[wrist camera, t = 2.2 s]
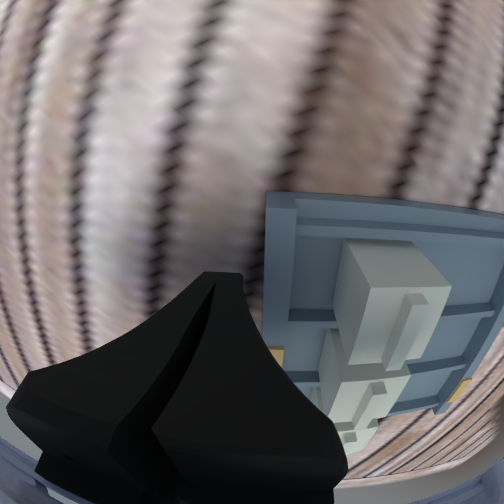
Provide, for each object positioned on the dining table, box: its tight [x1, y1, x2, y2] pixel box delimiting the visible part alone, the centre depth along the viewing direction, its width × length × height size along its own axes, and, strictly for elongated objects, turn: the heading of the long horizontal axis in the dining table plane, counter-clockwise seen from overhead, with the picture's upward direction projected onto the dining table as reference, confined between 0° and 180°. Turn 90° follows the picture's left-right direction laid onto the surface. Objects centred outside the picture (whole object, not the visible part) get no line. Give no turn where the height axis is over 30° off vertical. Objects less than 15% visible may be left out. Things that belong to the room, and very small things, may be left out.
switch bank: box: [262, 191, 504, 416], centre depth 13 cm, size 14×14×2 cm
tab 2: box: [318, 328, 411, 430], centre depth 11 cm, size 3×3×4 cm
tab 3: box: [309, 387, 379, 456], centre depth 13 cm, size 3×3×4 cm
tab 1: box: [332, 238, 452, 371], centre depth 9 cm, size 3×3×4 cm
